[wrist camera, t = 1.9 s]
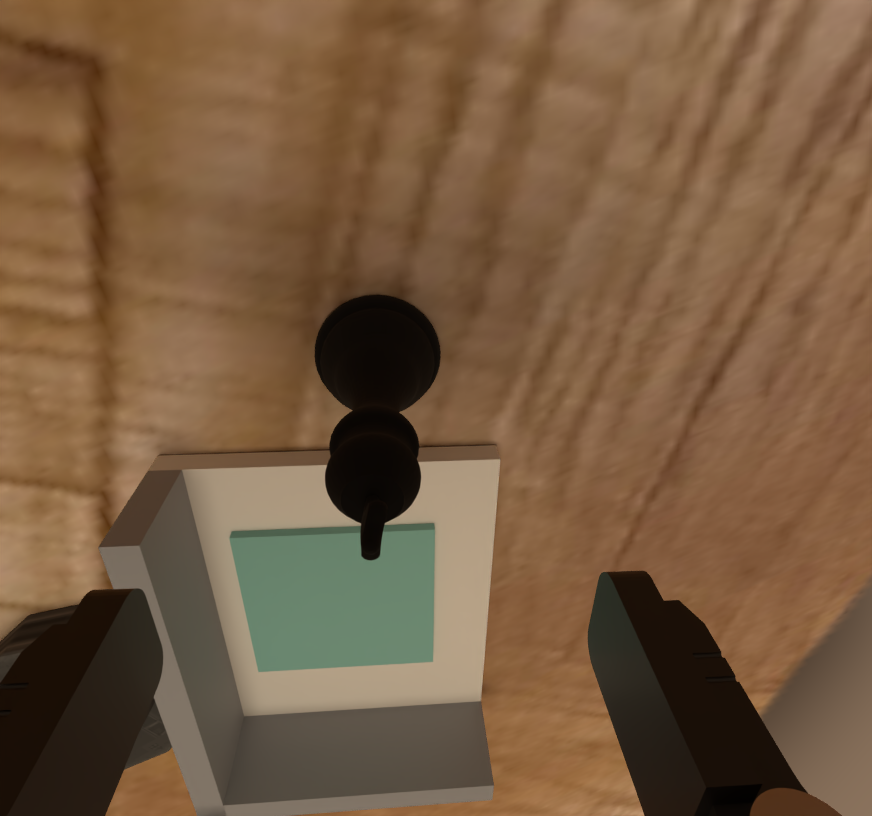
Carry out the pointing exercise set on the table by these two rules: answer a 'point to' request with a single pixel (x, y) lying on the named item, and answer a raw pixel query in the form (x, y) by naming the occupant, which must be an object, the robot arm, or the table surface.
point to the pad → (337, 596)
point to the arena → (309, 688)
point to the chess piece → (375, 407)
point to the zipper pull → (7, 651)
